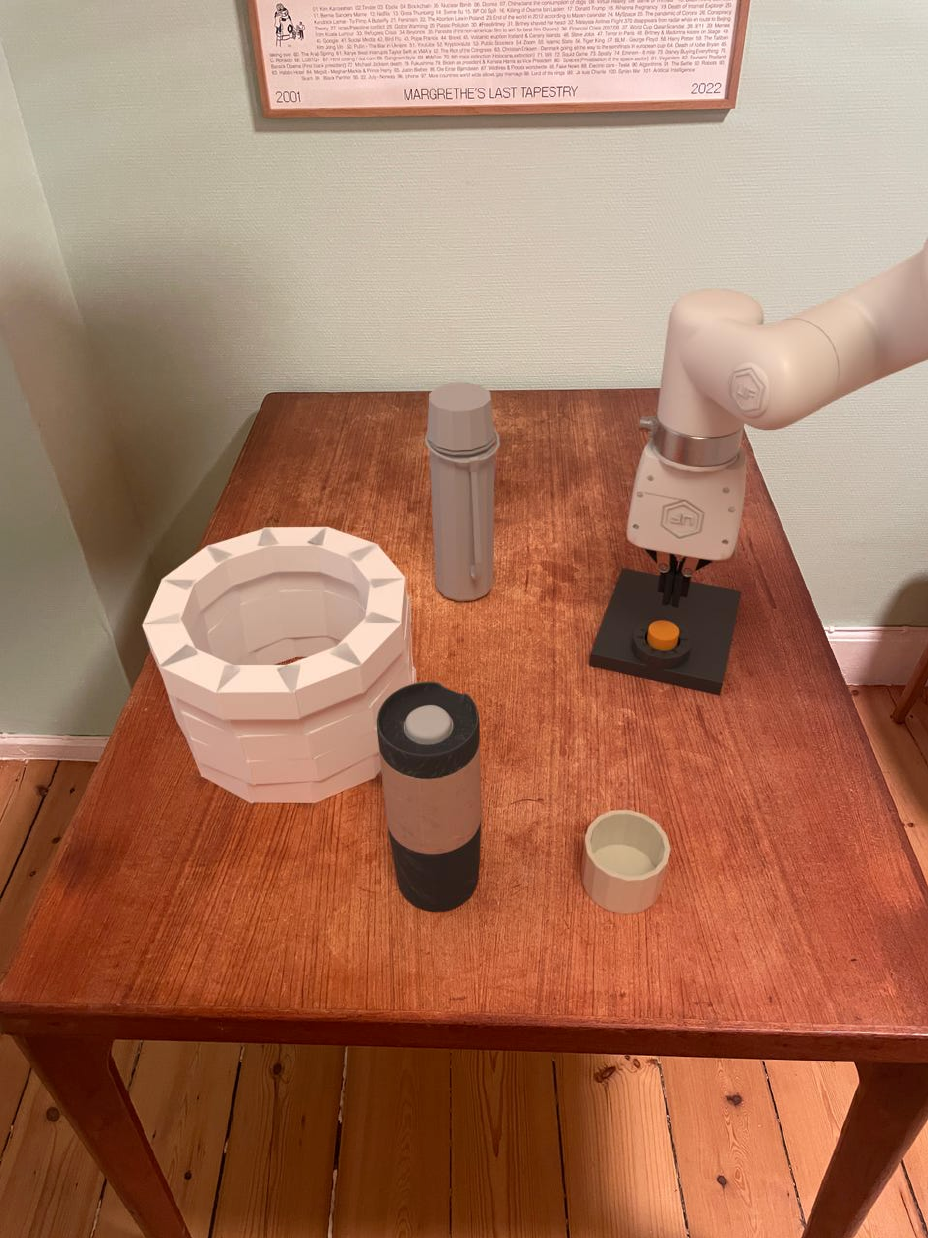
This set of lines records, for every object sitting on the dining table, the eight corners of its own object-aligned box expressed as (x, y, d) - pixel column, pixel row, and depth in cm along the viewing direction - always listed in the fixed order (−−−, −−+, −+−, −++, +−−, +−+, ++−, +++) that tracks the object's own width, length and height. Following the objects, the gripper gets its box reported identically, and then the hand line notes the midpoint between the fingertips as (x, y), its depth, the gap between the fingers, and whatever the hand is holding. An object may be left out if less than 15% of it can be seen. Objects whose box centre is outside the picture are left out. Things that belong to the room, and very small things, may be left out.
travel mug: (404, 926, 74) (386, 767, 61) (385, 850, 79) (365, 691, 66) (493, 903, 75) (493, 743, 62) (468, 830, 81) (464, 671, 68)
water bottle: (425, 575, 110) (414, 386, 94) (485, 562, 112) (485, 375, 95) (446, 621, 103) (438, 426, 87) (510, 607, 105) (514, 414, 89)
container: (413, 813, 82) (402, 689, 72) (159, 819, 82) (111, 696, 72) (419, 634, 101) (411, 515, 91) (212, 638, 101) (181, 521, 91)
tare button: (679, 634, 96) (681, 623, 95) (674, 653, 94) (676, 642, 93) (650, 628, 97) (651, 617, 96) (644, 647, 95) (645, 636, 94)
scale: (738, 603, 105) (744, 580, 102) (719, 696, 93) (725, 671, 91) (620, 580, 108) (623, 556, 106) (588, 666, 97) (591, 642, 95)
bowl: (668, 857, 78) (676, 822, 75) (653, 924, 73) (661, 890, 70) (591, 836, 80) (596, 800, 77) (572, 900, 75) (576, 865, 72)
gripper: (605, 444, 79) (591, 606, 90) (781, 470, 75) (743, 636, 86) (623, 407, 84) (608, 564, 96) (788, 429, 80) (751, 590, 92)
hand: (672, 598), depth 91 cm, fingers closed
